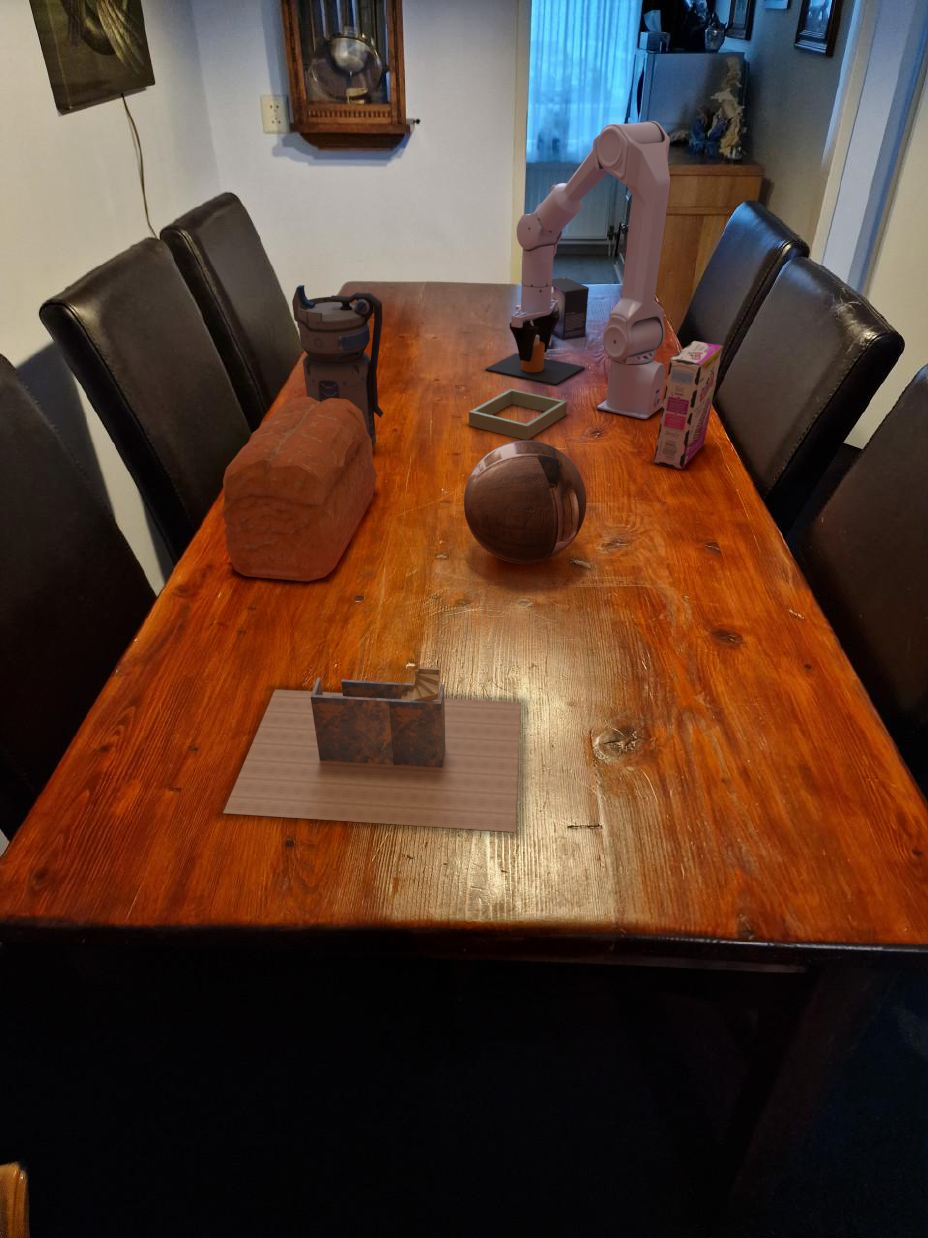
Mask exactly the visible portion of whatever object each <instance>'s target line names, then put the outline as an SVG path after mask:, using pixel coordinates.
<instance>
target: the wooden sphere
mask: <svg viewBox="0 0 928 1238" xmlns="http://www.w3.org/2000/svg"><path fill="white" fill-rule="evenodd" d="M463 511H464V518H465V520H466V524H467V527H468V528H469V531H470V532H471V533H470V534H472V536H473V538H474V539H475V541H476V542H477V543H478V544H479V545H480V546H481V547H482V548H483V549H484V550H485V551H486V552H488V553H489V554H490V555H492V556H493V557H495V558H498V559H500V560H502V561H504V562H507V563H512V564H518V565H530V564H531V565H532V564H536V563H537V564H538V563H541V562H544V561H547V560H550V559H552V558H554V557H556V556H557V555H559V554H560V553H562V552H563V551H565V549H567V548H568V547H569V546H570V545H571V544H572V542H573V541H574V540H575V539H576V537H577V536H578V534H579V532H580V530H581V528H582V526H583V523H584V521H585V517H586V512H587V491H586V487H585V482H584V479H583V477H582V475H581V473H580V471H579V469H578V468H577V466H576V465H575V464H574V462H573V461H572V459H570V457H568V456H567V455H566V454H565V453H563V452H562V451H560V450H559V449H557V448H556V447H554V446H552V445H550V444H547V443H544V442H541V441H536V440H516V441H511V442H507V443H504V444H502V445H500V446H497V447H495V448H494V449H492V450H491V451H489V452H488V453H486V454H485V455H484V456H483V457H482V458H481V459H480V461H478V462H477V464H476V465H475V467H474V468H473V469H472V471H471V473H470V475H469V477H468V479H467V482H466V485H465V489H464V495H463Z"/></svg>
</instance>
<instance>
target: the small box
mask: <svg viewBox="0 0 928 1238" xmlns="http://www.w3.org/2000/svg"><path fill="white" fill-rule="evenodd" d="M552 287H553V290H554V297H553V300H557V301H558V311H555V312H554V311H553V314H558V315H560V319H559V321H558V323H557V324H556V326H555V328H554V330H553V333H552V335H553V336H556V337H558V338H559V339H561V340H567V339H574V338H575V339H576V338H581V337H586V335H587V332H586V331H587V317H588V316H587V315H588V301H589V292H590V287H589V286H586V285H584V284H582V283H579V282H577V281H575V280H572V279H570V278H568V277H558V278H552Z"/></svg>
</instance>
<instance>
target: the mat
mask: <svg viewBox="0 0 928 1238" xmlns="http://www.w3.org/2000/svg"><path fill="white" fill-rule="evenodd" d="M521 365H522V360H520V357H519V353H518V352H516V353H514V354H512V355H510V356H507V357H505V358H504V359H502V360H500V361H498V362H496V363H494V364H492V365H490V366H488V367H486V368H485V371H486V372H491V373H497V374H499V375H504V376H509V377H513V378H518V379H522V380H526V381H527V380H528V381H532V382H537V383H542V384H545V385H550V386H551V385H552V386H558V385H560V384H561V383H563V382H564V381H566V380H568V379H569V378H571V377H573V376H575V375H576V374H578V373H580V372H582V371H583V370H585V369H586V366H583V365H577V364H574V363H568V362H562V361H558V360H553V359H548V358H544V368H543V370H542V371H540V372H525V371H523V370H522V369H521Z"/></svg>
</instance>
